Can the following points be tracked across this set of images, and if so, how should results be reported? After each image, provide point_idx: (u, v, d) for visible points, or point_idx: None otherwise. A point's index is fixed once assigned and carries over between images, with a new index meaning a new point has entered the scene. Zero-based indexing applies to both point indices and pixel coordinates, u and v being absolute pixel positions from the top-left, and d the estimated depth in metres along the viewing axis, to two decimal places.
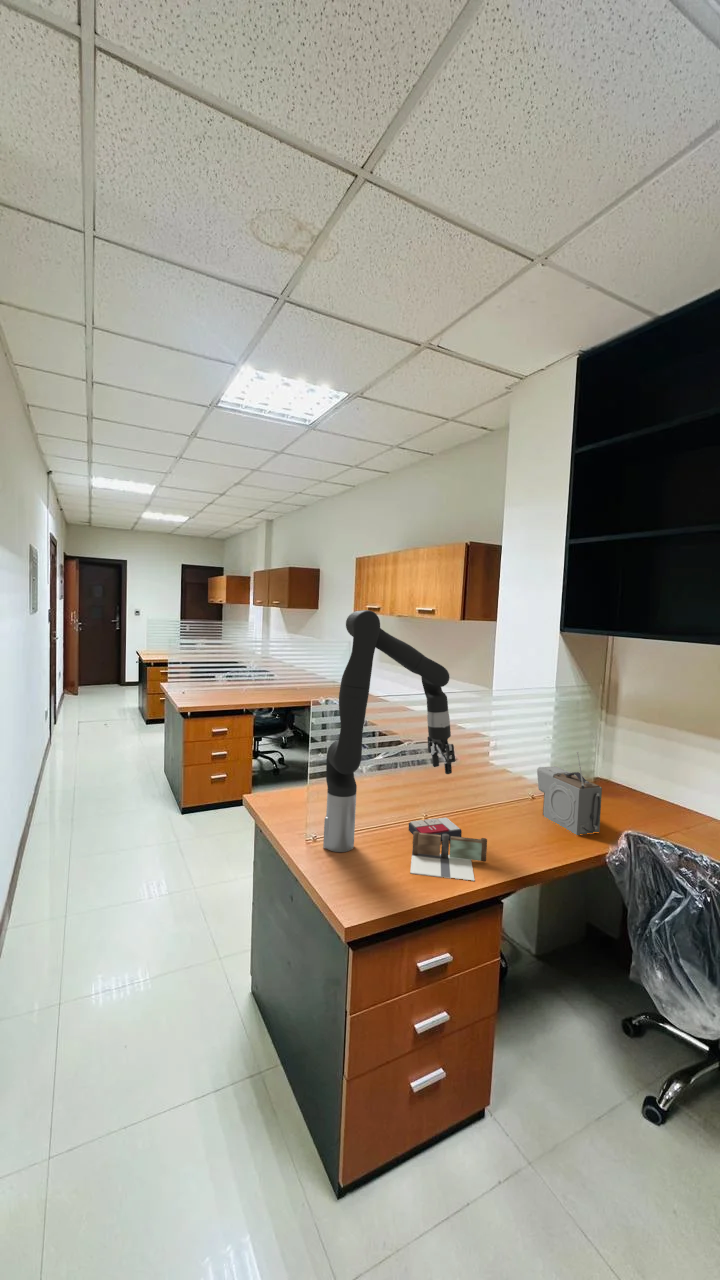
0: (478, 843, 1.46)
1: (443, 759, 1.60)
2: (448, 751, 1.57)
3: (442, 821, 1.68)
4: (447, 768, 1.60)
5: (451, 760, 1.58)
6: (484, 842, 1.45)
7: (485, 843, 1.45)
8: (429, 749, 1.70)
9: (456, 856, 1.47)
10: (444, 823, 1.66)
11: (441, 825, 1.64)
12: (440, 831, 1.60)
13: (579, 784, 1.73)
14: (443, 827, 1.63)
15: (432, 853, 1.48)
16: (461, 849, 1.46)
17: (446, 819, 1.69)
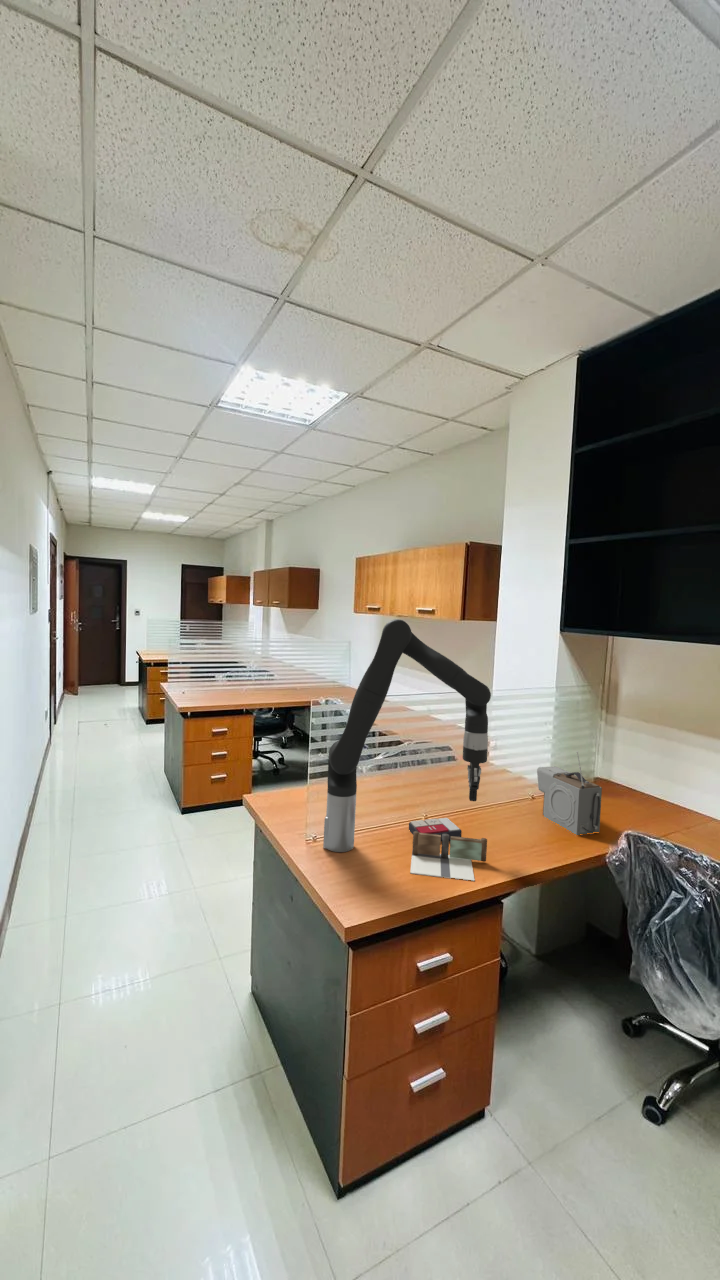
0: (478, 843, 1.46)
1: (469, 783, 1.51)
2: (472, 782, 1.46)
3: (443, 821, 1.68)
4: (471, 794, 1.50)
5: (474, 786, 1.48)
6: (484, 842, 1.45)
7: (485, 843, 1.45)
8: None
9: (456, 856, 1.47)
10: (444, 823, 1.66)
11: (441, 825, 1.64)
12: (440, 831, 1.60)
13: (579, 784, 1.73)
14: (443, 827, 1.62)
15: (432, 853, 1.48)
16: (461, 849, 1.46)
17: (447, 820, 1.69)
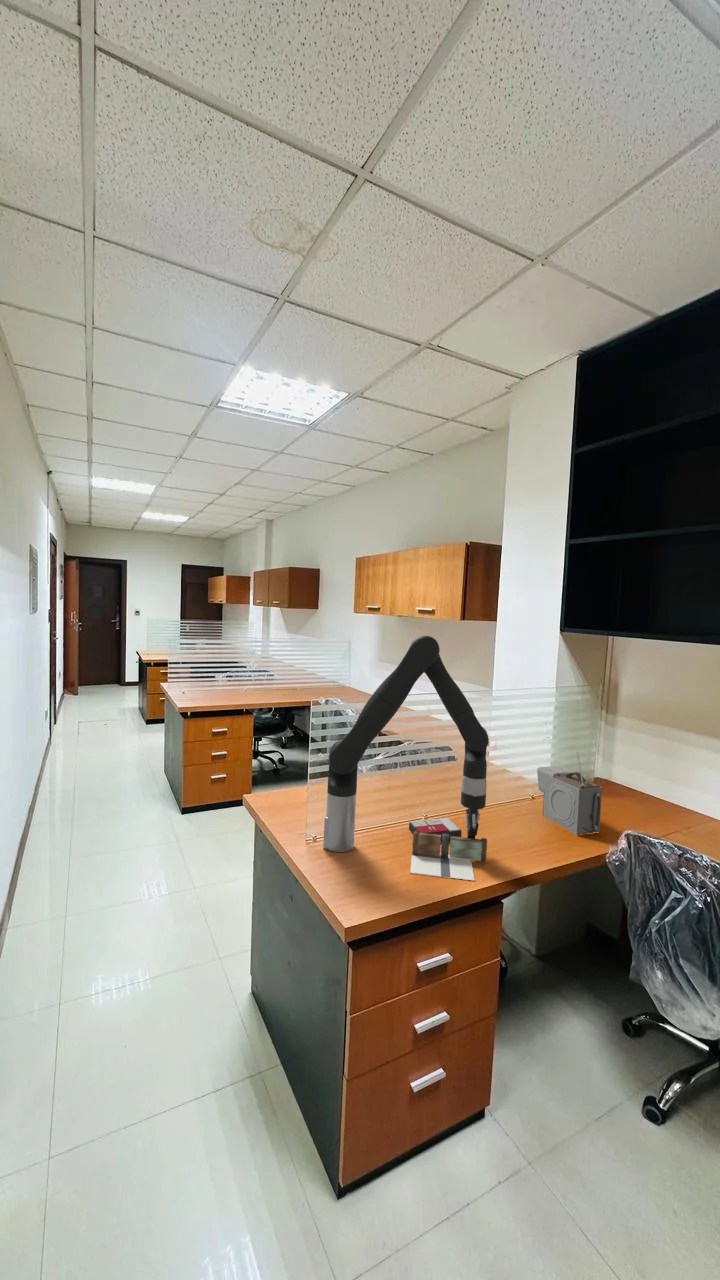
0: (478, 843, 1.46)
1: (467, 828, 1.49)
2: (470, 828, 1.44)
3: (443, 822, 1.68)
4: None
5: (472, 832, 1.46)
6: (484, 842, 1.45)
7: (485, 843, 1.45)
8: None
9: (456, 856, 1.47)
10: (444, 823, 1.66)
11: (441, 825, 1.64)
12: (439, 831, 1.60)
13: (579, 784, 1.73)
14: (443, 827, 1.62)
15: (432, 853, 1.48)
16: (461, 849, 1.46)
17: (447, 820, 1.69)
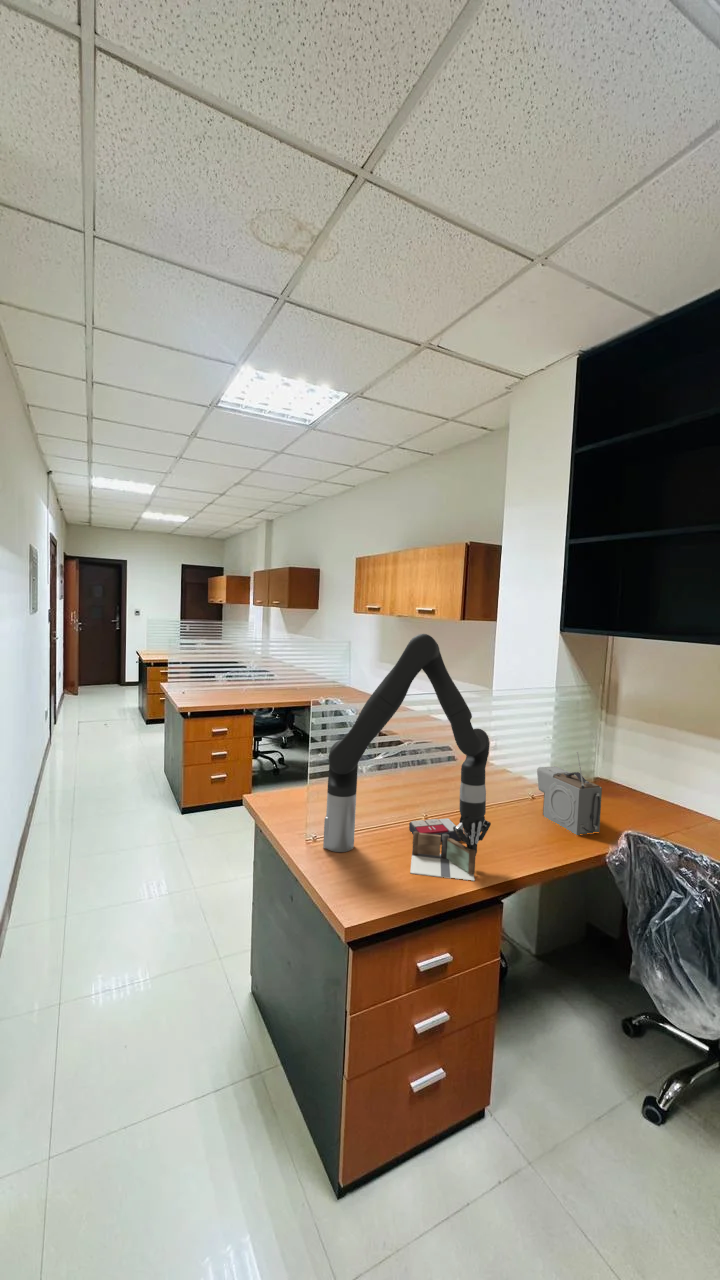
0: (466, 852, 1.39)
1: None
2: (456, 833, 1.40)
3: (444, 822, 1.67)
4: None
5: (463, 839, 1.41)
6: (470, 853, 1.37)
7: (471, 854, 1.37)
8: None
9: (451, 859, 1.44)
10: (445, 824, 1.66)
11: (441, 825, 1.64)
12: (439, 831, 1.60)
13: (579, 784, 1.73)
14: (443, 827, 1.62)
15: (432, 853, 1.48)
16: (454, 853, 1.43)
17: (448, 820, 1.69)
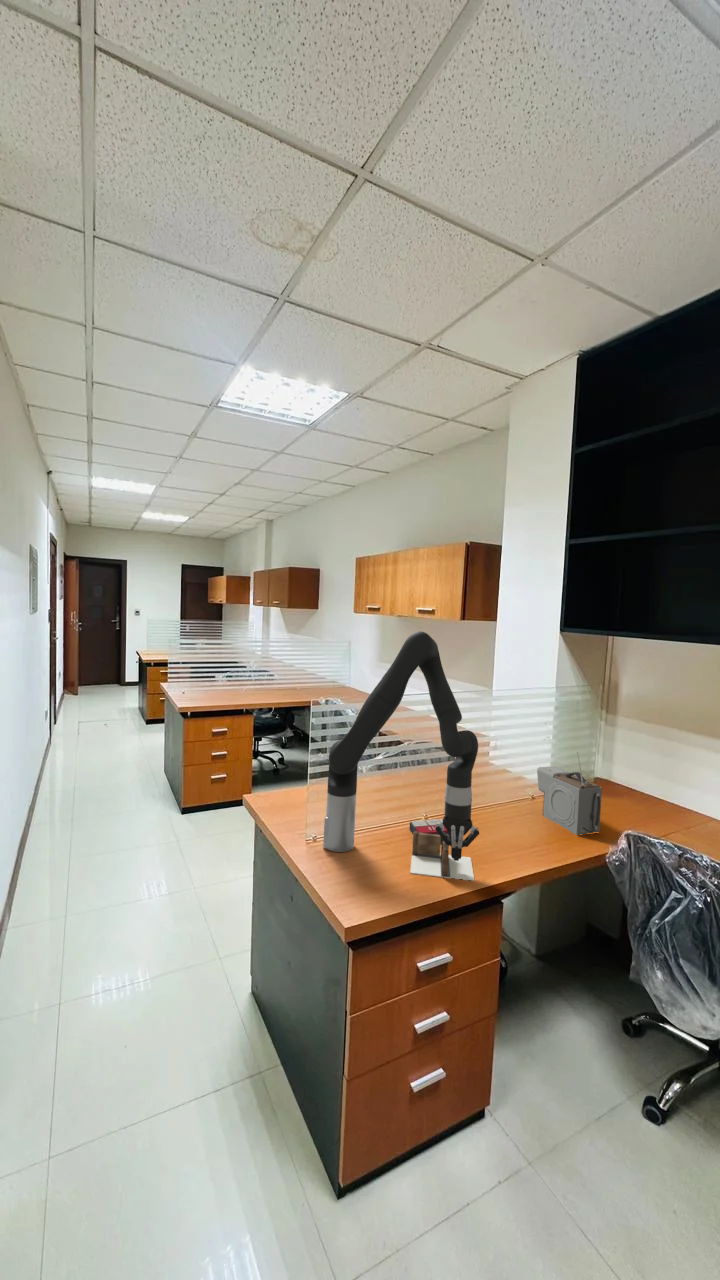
0: None
1: None
2: None
3: None
4: None
5: None
6: (442, 853, 1.36)
7: (442, 855, 1.36)
8: (466, 838, 1.40)
9: None
10: None
11: None
12: None
13: (579, 784, 1.73)
14: None
15: (432, 853, 1.48)
16: None
17: None
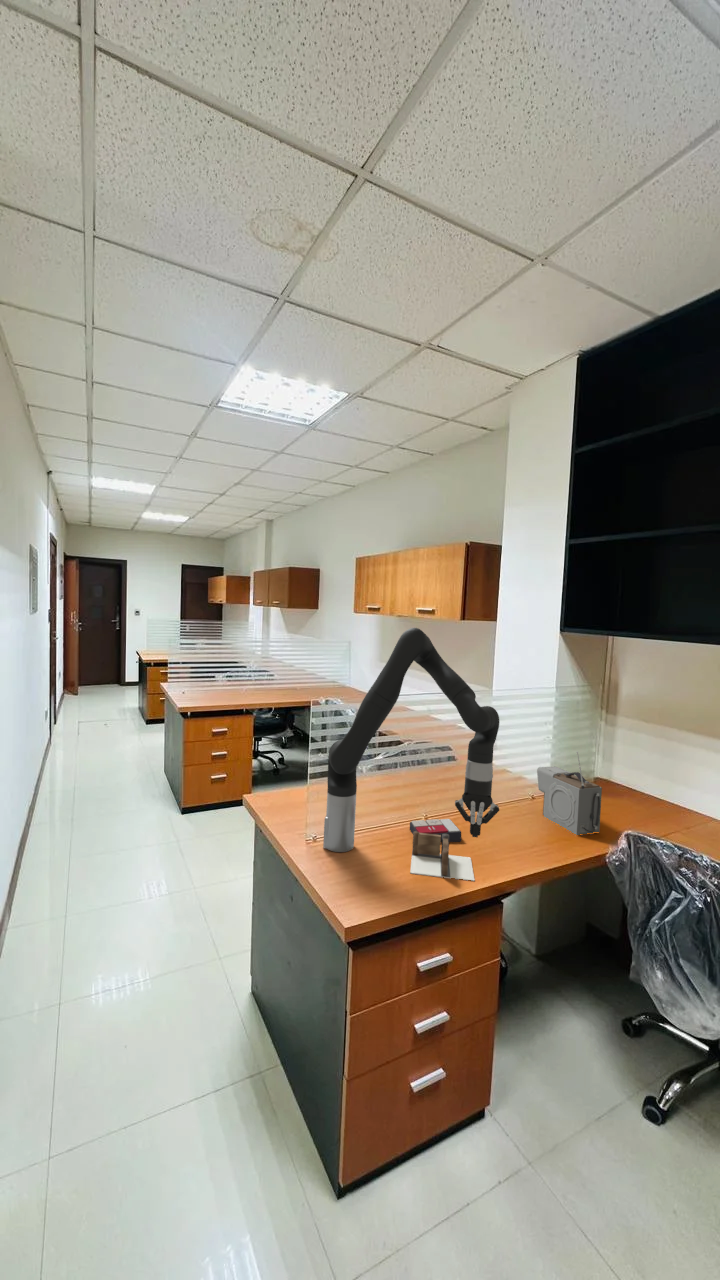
0: None
1: None
2: None
3: (444, 822, 1.67)
4: None
5: None
6: (442, 853, 1.36)
7: (442, 855, 1.36)
8: (485, 815, 1.38)
9: None
10: (445, 824, 1.65)
11: (441, 826, 1.63)
12: (439, 832, 1.59)
13: (579, 784, 1.73)
14: (443, 828, 1.62)
15: (432, 853, 1.48)
16: None
17: (448, 821, 1.68)
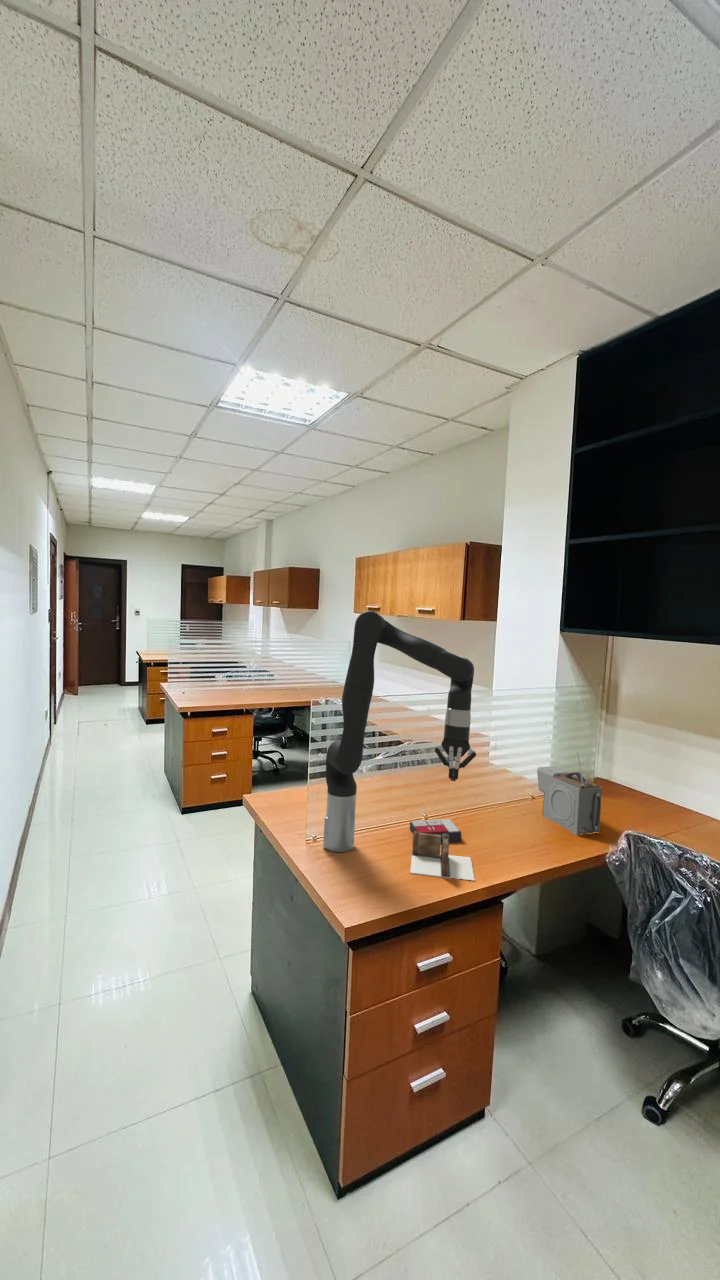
0: None
1: None
2: None
3: (444, 822, 1.67)
4: None
5: None
6: (442, 853, 1.36)
7: (442, 855, 1.36)
8: (463, 760, 1.47)
9: None
10: (445, 824, 1.65)
11: (441, 826, 1.63)
12: (438, 832, 1.59)
13: (579, 784, 1.73)
14: (443, 828, 1.62)
15: (432, 853, 1.48)
16: None
17: (449, 821, 1.68)
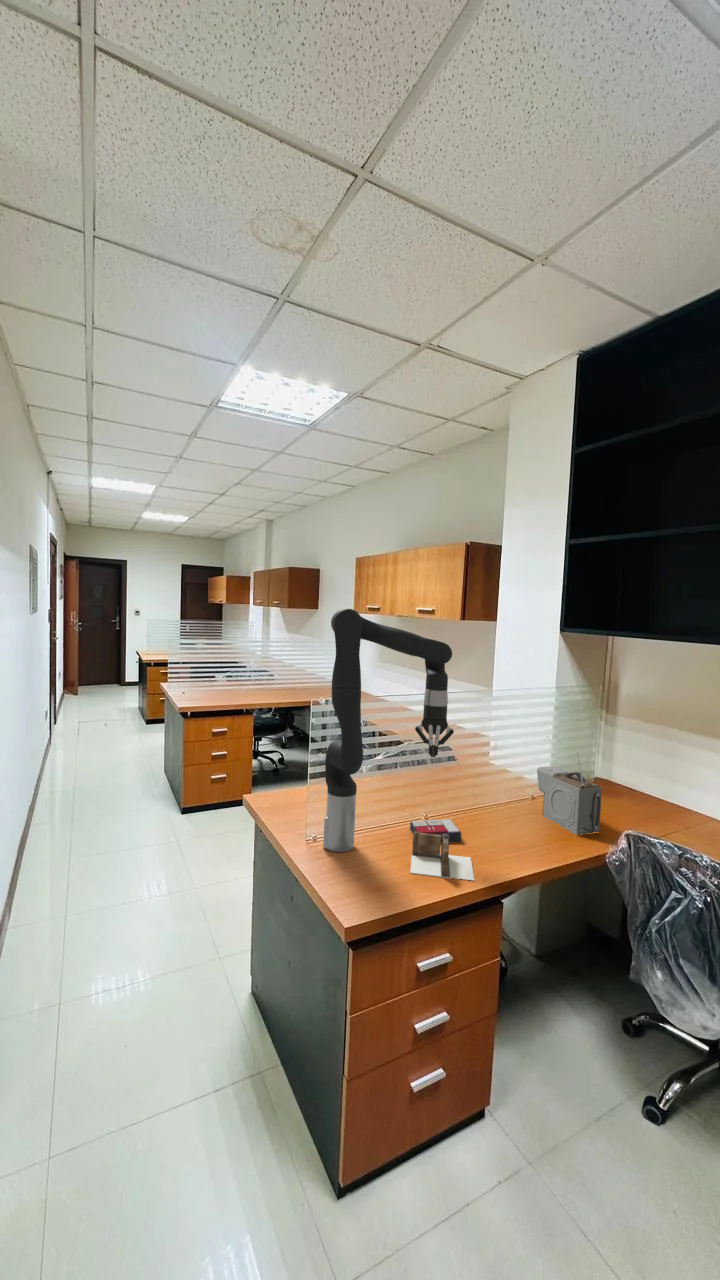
0: None
1: None
2: None
3: (445, 823, 1.67)
4: None
5: None
6: (442, 853, 1.36)
7: (442, 855, 1.36)
8: (442, 738, 1.56)
9: None
10: (445, 824, 1.65)
11: (441, 826, 1.63)
12: (438, 832, 1.59)
13: (579, 784, 1.73)
14: (442, 828, 1.61)
15: (432, 853, 1.48)
16: None
17: (449, 821, 1.68)
